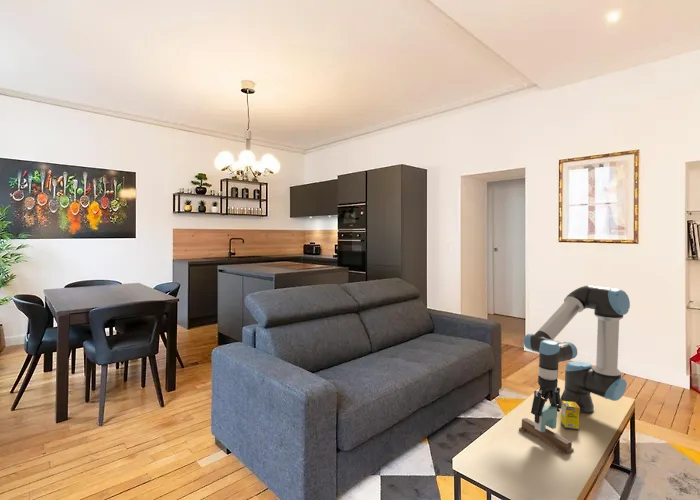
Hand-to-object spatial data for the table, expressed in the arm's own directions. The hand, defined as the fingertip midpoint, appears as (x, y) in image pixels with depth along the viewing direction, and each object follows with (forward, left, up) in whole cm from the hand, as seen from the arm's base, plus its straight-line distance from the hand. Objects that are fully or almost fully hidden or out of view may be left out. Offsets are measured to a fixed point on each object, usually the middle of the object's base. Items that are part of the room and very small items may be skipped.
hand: (545, 427), depth 167 cm
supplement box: (-21, -3, -6) cm, 22 cm away
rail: (0, 0, -6) cm, 6 cm away
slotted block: (0, 0, 0) cm, 0 cm away
